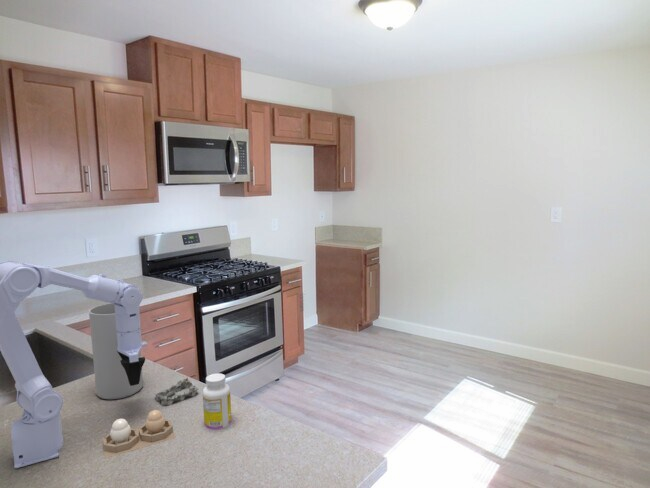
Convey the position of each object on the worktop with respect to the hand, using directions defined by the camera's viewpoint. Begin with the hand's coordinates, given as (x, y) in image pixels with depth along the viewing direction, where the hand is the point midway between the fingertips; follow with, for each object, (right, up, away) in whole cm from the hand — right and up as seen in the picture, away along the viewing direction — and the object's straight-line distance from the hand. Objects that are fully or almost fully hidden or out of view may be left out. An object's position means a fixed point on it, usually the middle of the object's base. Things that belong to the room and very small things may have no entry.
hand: (132, 378), depth 116 cm
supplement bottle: (+24, -10, -6) cm, 27 cm away
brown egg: (+10, -10, -10) cm, 17 cm away
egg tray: (+7, -11, -12) cm, 18 cm away
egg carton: (+9, -9, +8) cm, 15 cm away
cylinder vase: (-10, -8, +14) cm, 19 cm away
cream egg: (+4, -10, -14) cm, 18 cm away
